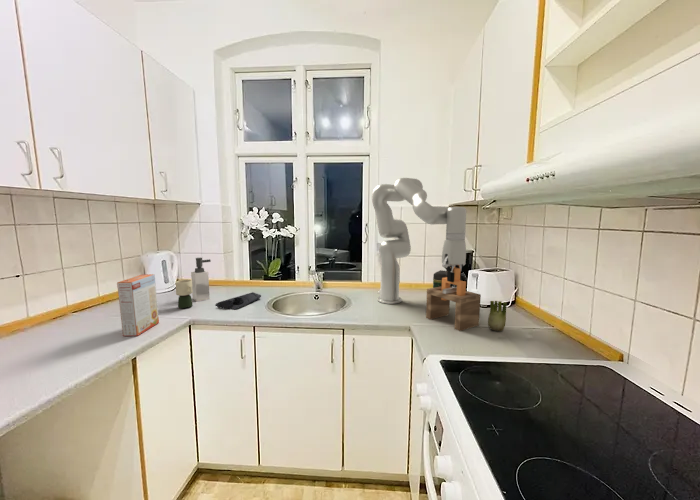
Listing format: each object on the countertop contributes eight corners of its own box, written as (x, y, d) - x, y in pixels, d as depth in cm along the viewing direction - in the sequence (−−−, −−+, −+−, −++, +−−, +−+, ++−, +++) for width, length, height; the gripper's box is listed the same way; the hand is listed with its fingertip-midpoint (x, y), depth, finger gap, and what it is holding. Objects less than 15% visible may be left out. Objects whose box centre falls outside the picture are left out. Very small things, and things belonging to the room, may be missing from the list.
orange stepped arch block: (441, 299, 136) (442, 266, 134) (445, 298, 138) (447, 265, 136) (460, 305, 128) (461, 270, 126) (464, 304, 129) (466, 269, 127)
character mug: (199, 307, 152) (197, 280, 151) (185, 311, 146) (183, 283, 145) (185, 303, 158) (183, 278, 156) (171, 307, 152) (169, 281, 150)
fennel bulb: (506, 331, 123) (508, 301, 122) (500, 334, 120) (502, 303, 119) (491, 326, 128) (493, 298, 126) (485, 329, 125) (487, 300, 123)
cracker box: (145, 323, 131) (141, 273, 128) (159, 323, 131) (155, 273, 128) (121, 336, 117) (116, 281, 114) (137, 336, 117) (132, 281, 114)
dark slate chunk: (266, 299, 167) (266, 291, 166) (234, 311, 147) (233, 301, 147) (244, 296, 174) (244, 287, 173) (211, 307, 154) (210, 297, 153)
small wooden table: (425, 317, 138) (427, 285, 136) (444, 313, 145) (446, 282, 143) (459, 331, 123) (461, 294, 121) (478, 325, 129) (480, 290, 128)
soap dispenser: (214, 298, 167) (212, 257, 165) (196, 301, 162) (194, 259, 159) (209, 296, 172) (207, 256, 169) (192, 299, 166) (190, 257, 163)
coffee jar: (447, 313, 144) (449, 273, 142) (430, 310, 148) (431, 272, 145) (451, 307, 153) (452, 270, 151) (434, 305, 156) (436, 268, 154)
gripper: (461, 235, 137) (459, 277, 139) (434, 237, 128) (432, 281, 130) (475, 237, 130) (473, 280, 133) (449, 238, 122) (447, 285, 124)
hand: (453, 280), depth 132 cm, fingers closed on orange stepped arch block, 3 cm apart
